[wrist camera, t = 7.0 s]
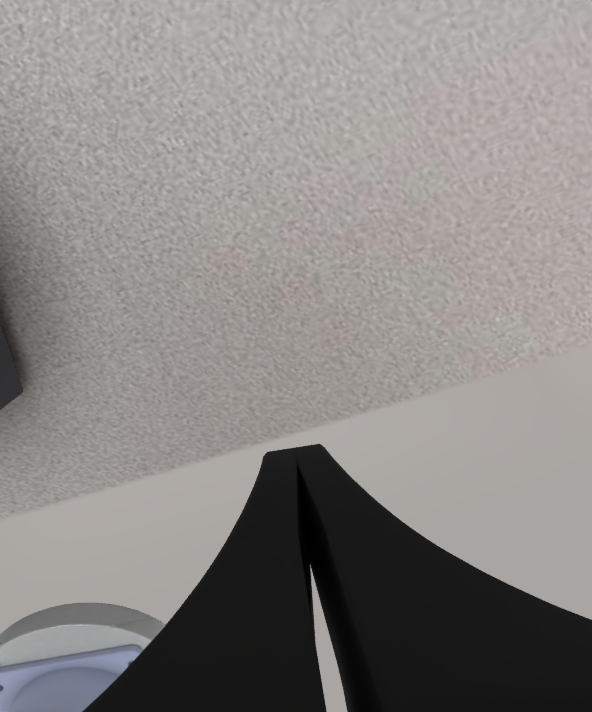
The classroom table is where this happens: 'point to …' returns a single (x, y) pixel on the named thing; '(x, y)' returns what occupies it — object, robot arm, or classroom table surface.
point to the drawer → (7, 374)
